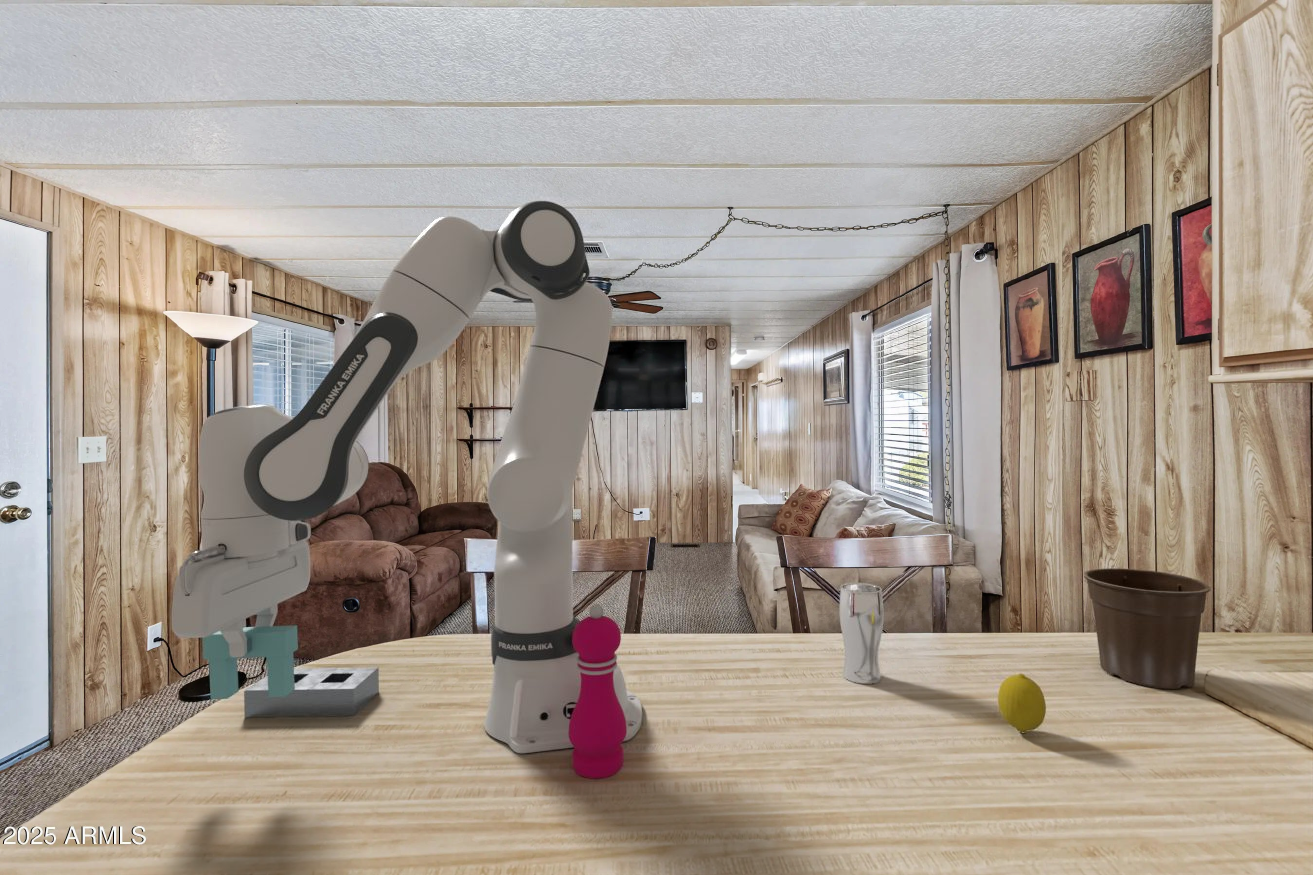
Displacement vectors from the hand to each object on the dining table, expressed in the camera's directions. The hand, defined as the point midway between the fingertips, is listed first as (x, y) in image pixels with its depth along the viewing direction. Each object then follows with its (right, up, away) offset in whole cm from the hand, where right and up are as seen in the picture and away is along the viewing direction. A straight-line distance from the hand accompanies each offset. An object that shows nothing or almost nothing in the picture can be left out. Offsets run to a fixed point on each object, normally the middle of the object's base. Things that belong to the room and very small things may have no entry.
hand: (251, 649), depth 74 cm
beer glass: (+84, -14, +26) cm, 89 cm away
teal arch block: (0, -6, 0) cm, 6 cm away
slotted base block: (-3, -15, +18) cm, 23 cm away
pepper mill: (+43, -15, +1) cm, 45 cm away
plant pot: (+131, -14, +26) cm, 135 cm away
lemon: (+100, -14, +7) cm, 101 cm away
